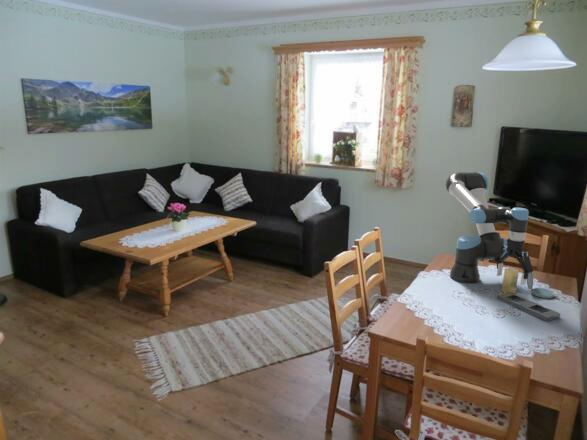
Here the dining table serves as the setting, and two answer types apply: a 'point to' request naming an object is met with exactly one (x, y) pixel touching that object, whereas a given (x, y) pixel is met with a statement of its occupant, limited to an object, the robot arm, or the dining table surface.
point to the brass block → (510, 280)
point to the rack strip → (528, 306)
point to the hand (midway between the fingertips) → (510, 279)
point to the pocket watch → (539, 289)
